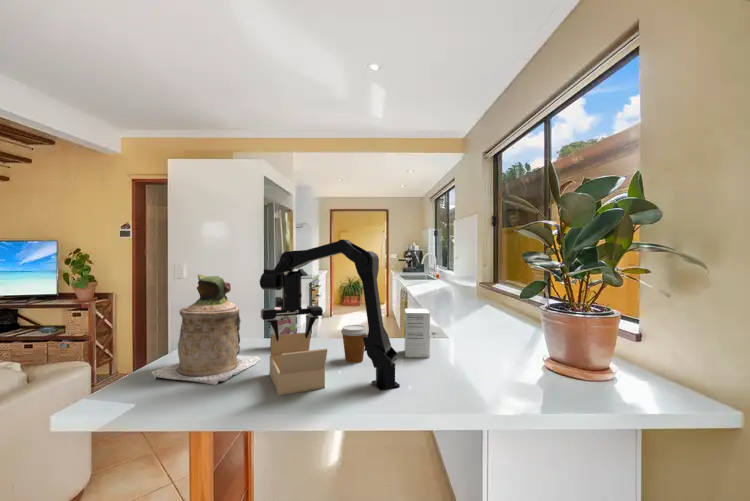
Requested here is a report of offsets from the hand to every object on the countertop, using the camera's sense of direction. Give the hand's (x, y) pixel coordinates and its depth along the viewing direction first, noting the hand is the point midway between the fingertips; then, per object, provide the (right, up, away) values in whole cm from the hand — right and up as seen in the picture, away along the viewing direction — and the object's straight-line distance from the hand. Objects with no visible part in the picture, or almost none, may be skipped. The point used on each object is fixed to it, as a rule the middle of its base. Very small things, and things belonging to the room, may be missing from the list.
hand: (292, 339), depth 112 cm
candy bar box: (-10, -12, +31) cm, 34 cm away
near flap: (+7, -2, -15) cm, 17 cm away
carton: (+2, -11, -5) cm, 13 cm away
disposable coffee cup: (+19, -12, +15) cm, 27 cm away
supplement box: (+43, -12, +24) cm, 50 cm away
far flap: (-1, -2, +2) cm, 3 cm away
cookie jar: (-29, -12, +5) cm, 31 cm away
